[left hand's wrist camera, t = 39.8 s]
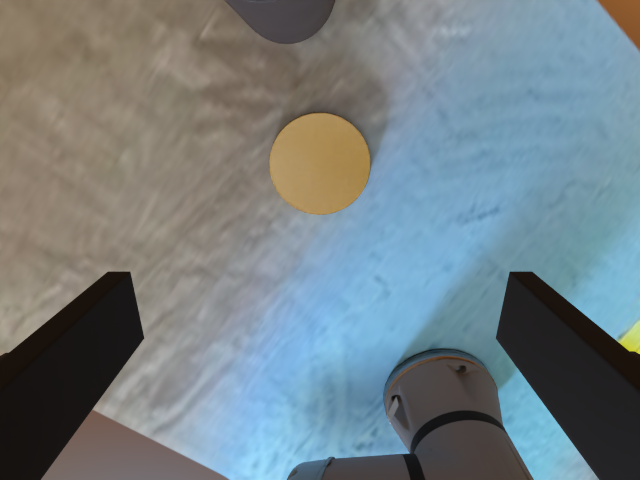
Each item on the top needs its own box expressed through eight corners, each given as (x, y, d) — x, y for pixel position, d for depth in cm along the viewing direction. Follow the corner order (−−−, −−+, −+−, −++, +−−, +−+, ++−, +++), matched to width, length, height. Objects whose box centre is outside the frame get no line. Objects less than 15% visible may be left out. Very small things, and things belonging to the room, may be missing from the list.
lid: (389, 149, 39) (391, 151, 38) (333, 228, 43) (333, 233, 41) (304, 90, 37) (304, 89, 36) (252, 177, 41) (250, 181, 39)
